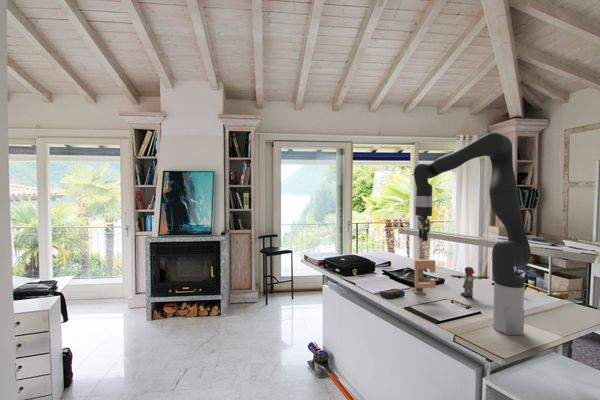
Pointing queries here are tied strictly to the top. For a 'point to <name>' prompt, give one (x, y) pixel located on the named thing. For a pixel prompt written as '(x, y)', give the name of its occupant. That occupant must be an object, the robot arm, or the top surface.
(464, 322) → the top surface
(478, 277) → the toy
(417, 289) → the stand
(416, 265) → the tan c-shaped block
